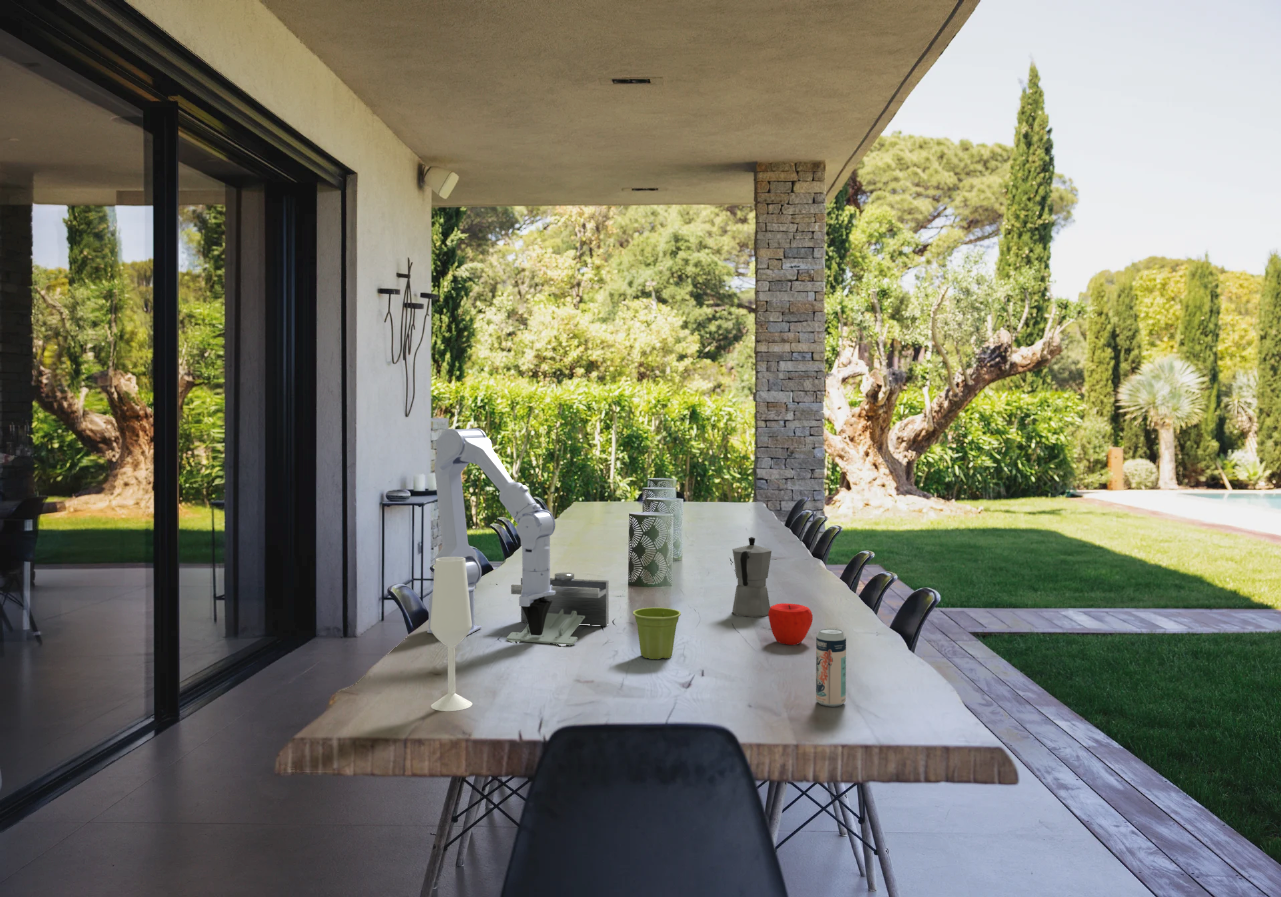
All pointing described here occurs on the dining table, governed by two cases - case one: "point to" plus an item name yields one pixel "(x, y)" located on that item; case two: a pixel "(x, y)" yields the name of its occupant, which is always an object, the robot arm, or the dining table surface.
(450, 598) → the champagne flute
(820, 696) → the beer can
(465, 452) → the robot arm
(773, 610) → the apple
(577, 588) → the stand
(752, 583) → the coffeepot
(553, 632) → the metal bracket
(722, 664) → the dining table surface
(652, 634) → the plant pot
